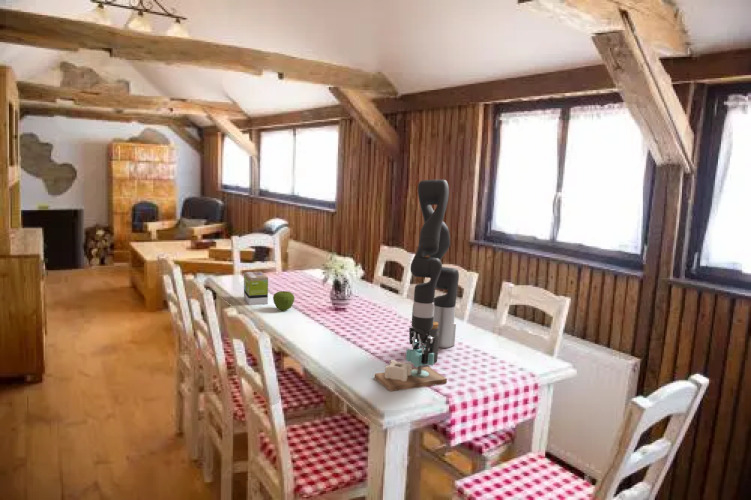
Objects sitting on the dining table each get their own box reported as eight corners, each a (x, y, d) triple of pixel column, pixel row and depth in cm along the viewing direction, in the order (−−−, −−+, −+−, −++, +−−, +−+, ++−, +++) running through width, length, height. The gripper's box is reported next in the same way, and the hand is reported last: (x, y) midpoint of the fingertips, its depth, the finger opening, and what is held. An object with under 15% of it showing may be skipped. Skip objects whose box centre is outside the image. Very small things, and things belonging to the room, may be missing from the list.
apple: (292, 313, 259) (292, 293, 258) (270, 312, 259) (271, 292, 258) (295, 307, 270) (296, 288, 268) (275, 306, 270) (275, 287, 269)
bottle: (436, 358, 207) (438, 321, 205) (438, 363, 201) (441, 325, 199) (421, 357, 207) (423, 320, 204) (423, 362, 201) (425, 324, 199)
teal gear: (423, 357, 190) (424, 347, 189) (434, 365, 183) (435, 354, 182) (404, 359, 187) (405, 349, 186) (415, 367, 180) (416, 356, 179)
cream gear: (390, 370, 187) (391, 359, 186) (411, 374, 184) (412, 363, 184) (383, 378, 179) (384, 366, 179) (405, 382, 177) (406, 370, 176)
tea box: (243, 298, 283) (243, 271, 281) (261, 297, 288) (262, 271, 285) (248, 305, 270) (249, 277, 268) (268, 304, 274) (268, 276, 272)
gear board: (428, 370, 193) (429, 356, 192) (446, 382, 182) (447, 367, 182) (374, 377, 184) (375, 362, 183) (390, 391, 173) (391, 375, 172)
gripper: (443, 318, 178) (439, 366, 180) (421, 308, 190) (418, 352, 193) (424, 320, 174) (420, 369, 177) (403, 309, 187) (400, 355, 189)
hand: (419, 360), depth 185 cm, fingers closed on teal gear, 5 cm apart
